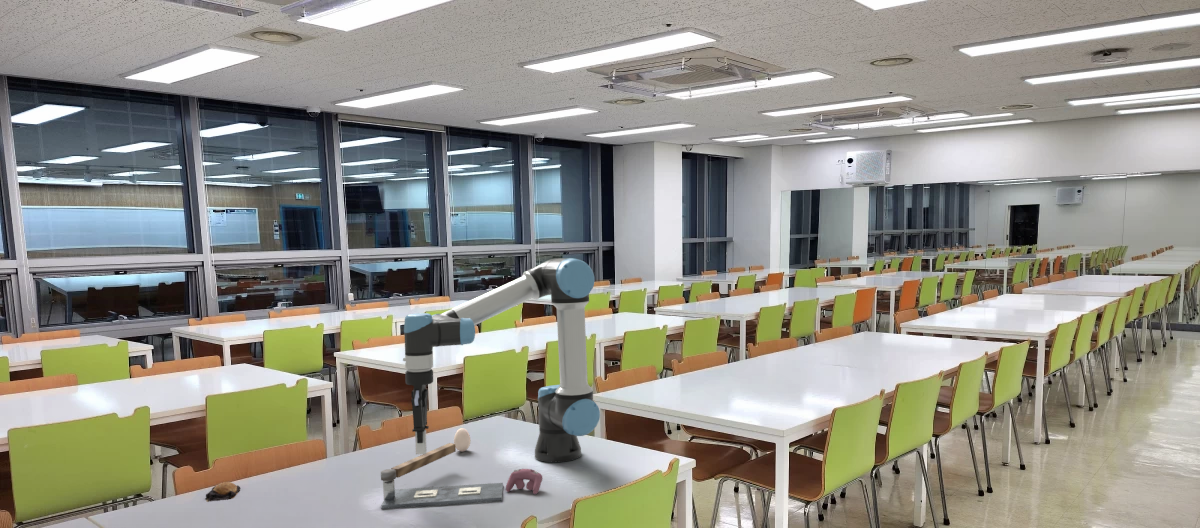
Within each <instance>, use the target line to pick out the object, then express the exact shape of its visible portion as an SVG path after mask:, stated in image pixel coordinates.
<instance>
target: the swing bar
mask: <svg viewBox="0 0 1200 528" xmlns="http://www.w3.org/2000/svg"><path fill="white" fill-rule="evenodd" d="M456 451H457V449H456V447H455V444H454V442H453V443H451V442H448V443H446V444H444V445H441V446H439V447H437V448H435V449H432V450H430V451H426V454H419V456H416V457H414V458H411V459H409V460H407V461H404V462H402V463H400V464H397V465H396V466H393V467H391V468H388V469H383V470H381V471H380V480H381V481H382V482H383V481H391V480H394V481H395V480H396V479H397V478H401V477H403V476H405V475H407V474H410V473H412V472H413V471H416V470H419V469H421V468H423V467H425V466H426V465H429V464H431V463H434V462H436V461H437V460H440V459H443V458H445V457H446V456H449V455H452V454H453V453H456Z"/></svg>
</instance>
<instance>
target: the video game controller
mask: <svg viewBox="0 0 1200 528" xmlns="http://www.w3.org/2000/svg"><path fill="white" fill-rule="evenodd" d="M524 480H528V482H526V483H525V482H524ZM542 482H543V475H542V474H541V473H540V472H538V470H537V471H536V470H534V469H531V468H521V469H514V470H513V472H511V473H510V475H509V478H508V480H507V483H506V485H505V491H506V492H507V493H509V492H511V490H512V489H513V488H514V486H515V487H516V489H518V490H523V489H525V486H526V489H527V490H529V491H532V493H533V495H535V496H536V495H537V494H538V493H539V491H540V488H541V484H542Z"/></svg>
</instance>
